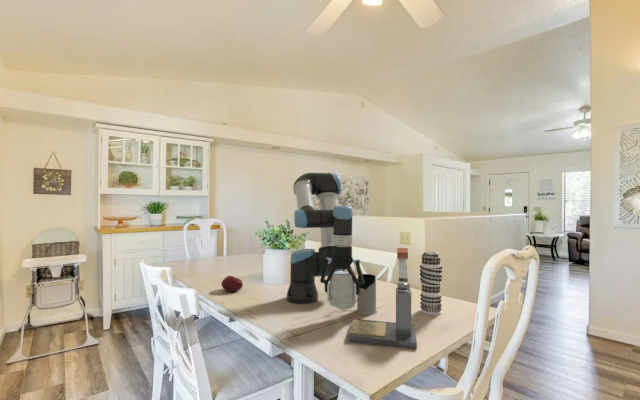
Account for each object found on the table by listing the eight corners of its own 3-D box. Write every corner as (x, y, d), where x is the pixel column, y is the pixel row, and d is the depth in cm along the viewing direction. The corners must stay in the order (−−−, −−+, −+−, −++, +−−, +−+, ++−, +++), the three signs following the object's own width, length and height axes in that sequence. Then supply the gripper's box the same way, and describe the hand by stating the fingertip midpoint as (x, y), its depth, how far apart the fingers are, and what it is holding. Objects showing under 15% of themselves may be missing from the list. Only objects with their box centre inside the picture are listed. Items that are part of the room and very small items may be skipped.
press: (347, 342, 107) (347, 293, 107) (353, 324, 123) (354, 282, 123) (416, 349, 102) (416, 298, 102) (414, 329, 118) (414, 285, 118)
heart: (226, 293, 159) (243, 293, 166) (228, 278, 160) (245, 277, 167) (215, 289, 168) (233, 288, 175) (217, 274, 169) (234, 274, 176)
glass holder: (369, 316, 131) (369, 279, 131) (342, 308, 141) (342, 274, 141) (380, 311, 137) (381, 275, 138) (354, 303, 147) (354, 271, 147)
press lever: (397, 290, 111) (397, 282, 109) (397, 255, 130) (397, 247, 129) (409, 291, 110) (409, 283, 108) (407, 255, 129) (407, 248, 128)
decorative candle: (439, 316, 131) (440, 255, 131) (416, 312, 136) (417, 253, 136) (444, 310, 139) (444, 252, 139) (422, 306, 144) (422, 250, 144)
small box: (354, 307, 126) (355, 274, 126) (343, 310, 122) (343, 276, 122) (340, 301, 133) (341, 270, 132) (329, 304, 129) (329, 272, 128)
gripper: (312, 245, 126) (311, 302, 126) (370, 248, 121) (370, 307, 121) (316, 242, 133) (316, 296, 134) (372, 245, 128) (371, 300, 128)
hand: (341, 301), depth 127 cm, fingers closed on small box, 10 cm apart
